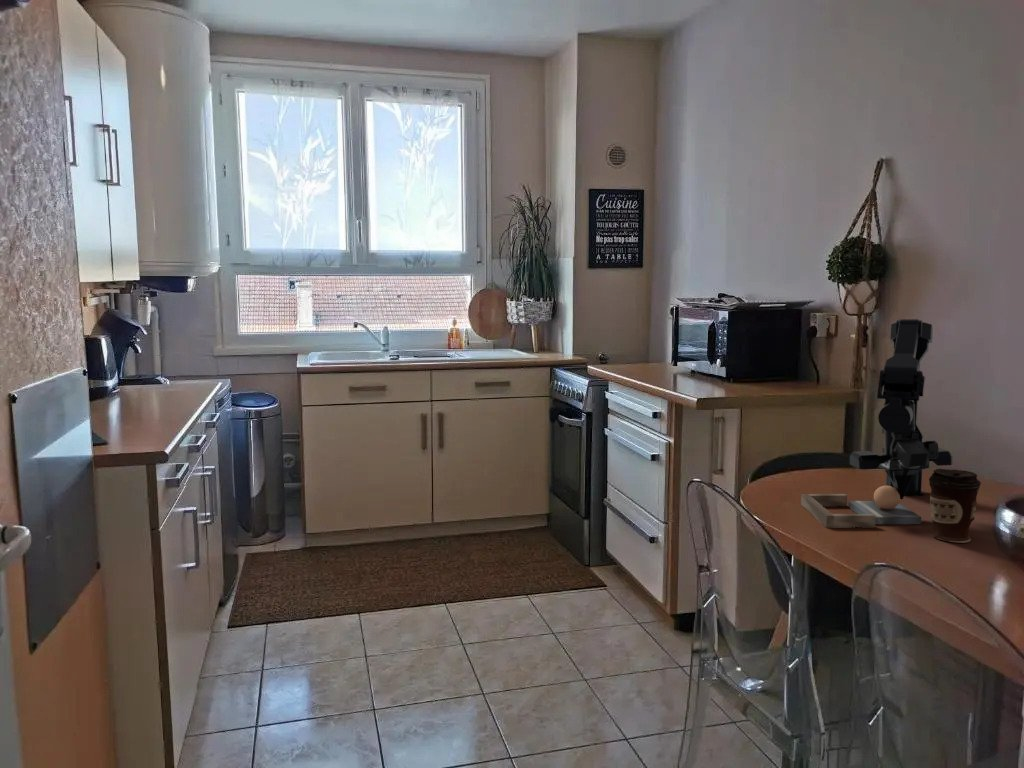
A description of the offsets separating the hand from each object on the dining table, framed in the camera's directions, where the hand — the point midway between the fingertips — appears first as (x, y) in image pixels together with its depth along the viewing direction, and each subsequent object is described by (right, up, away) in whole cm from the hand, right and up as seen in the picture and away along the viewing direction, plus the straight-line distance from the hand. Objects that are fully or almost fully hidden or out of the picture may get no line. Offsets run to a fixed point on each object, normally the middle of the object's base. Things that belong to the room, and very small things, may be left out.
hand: (900, 498), depth 162 cm
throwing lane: (-8, -4, +2) cm, 9 cm away
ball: (-3, 0, +1) cm, 3 cm away
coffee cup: (+2, -6, -14) cm, 15 cm away
